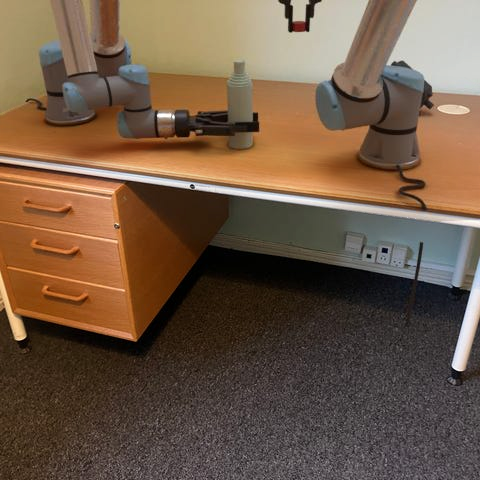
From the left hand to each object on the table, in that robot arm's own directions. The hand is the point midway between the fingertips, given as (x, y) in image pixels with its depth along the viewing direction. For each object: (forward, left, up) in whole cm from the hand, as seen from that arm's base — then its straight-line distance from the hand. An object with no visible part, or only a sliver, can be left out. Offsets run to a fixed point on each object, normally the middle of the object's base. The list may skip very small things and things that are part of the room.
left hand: (258, 122), depth 146 cm
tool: (+31, +45, -6) cm, 55 cm away
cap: (+6, +14, +24) cm, 28 cm away
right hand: (+6, +14, +22) cm, 26 cm away
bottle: (-5, -2, -6) cm, 8 cm away
